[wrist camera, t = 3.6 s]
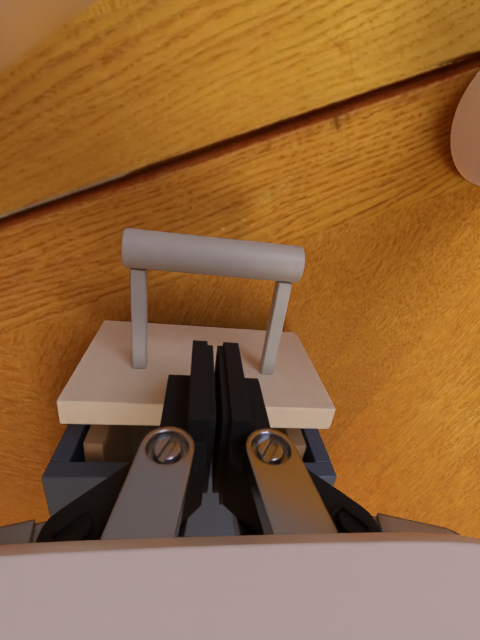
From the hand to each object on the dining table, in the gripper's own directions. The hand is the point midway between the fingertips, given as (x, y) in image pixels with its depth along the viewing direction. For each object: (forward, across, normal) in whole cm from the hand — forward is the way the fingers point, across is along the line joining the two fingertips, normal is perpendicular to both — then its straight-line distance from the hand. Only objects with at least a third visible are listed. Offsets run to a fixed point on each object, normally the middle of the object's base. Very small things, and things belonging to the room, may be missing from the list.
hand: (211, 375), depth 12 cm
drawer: (+7, 0, +5) cm, 9 cm away
